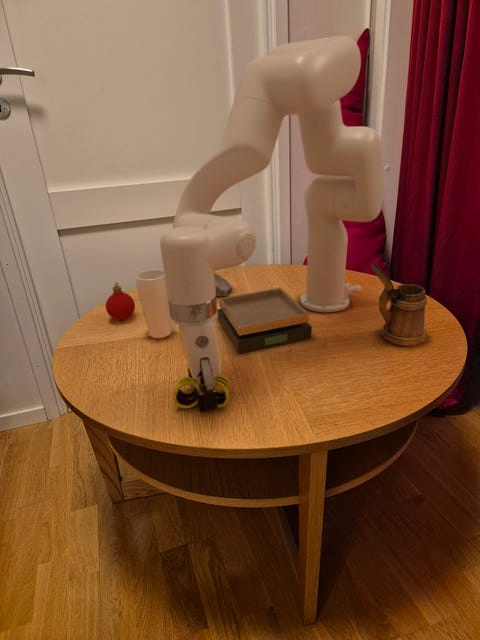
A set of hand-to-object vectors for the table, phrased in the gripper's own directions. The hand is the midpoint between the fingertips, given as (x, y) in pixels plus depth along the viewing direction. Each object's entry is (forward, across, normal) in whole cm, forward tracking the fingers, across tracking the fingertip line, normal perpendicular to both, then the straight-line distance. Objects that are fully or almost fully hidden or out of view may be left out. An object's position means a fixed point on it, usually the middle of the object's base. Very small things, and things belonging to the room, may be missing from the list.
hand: (203, 396), depth 73 cm
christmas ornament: (+1, +40, +12) cm, 42 cm away
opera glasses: (+1, 0, 0) cm, 1 cm away
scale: (+1, +21, -19) cm, 28 cm away
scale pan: (-3, +21, -19) cm, 29 cm away
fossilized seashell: (+1, +48, -14) cm, 50 cm away
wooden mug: (+1, +6, -44) cm, 44 cm away
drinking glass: (+1, +28, +4) cm, 28 cm away
